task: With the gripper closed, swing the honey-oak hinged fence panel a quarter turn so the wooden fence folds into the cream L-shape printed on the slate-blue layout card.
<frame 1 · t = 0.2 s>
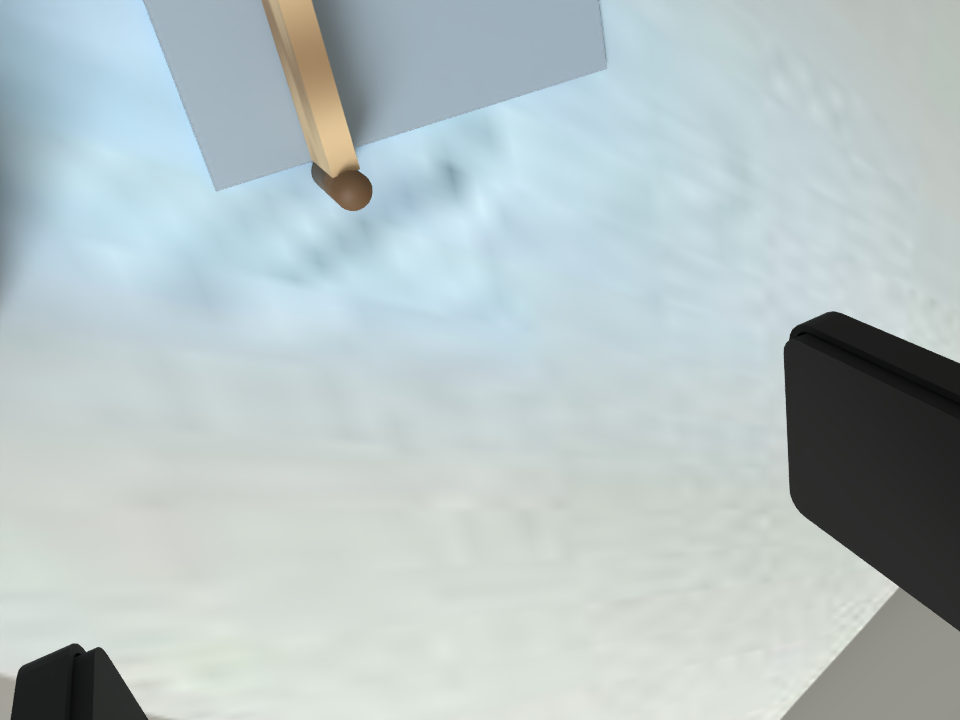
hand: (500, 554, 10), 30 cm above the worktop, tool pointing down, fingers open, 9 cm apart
fence panel: (309, 76, 33), point 3 cm above the worktop, hinge at 0.0°
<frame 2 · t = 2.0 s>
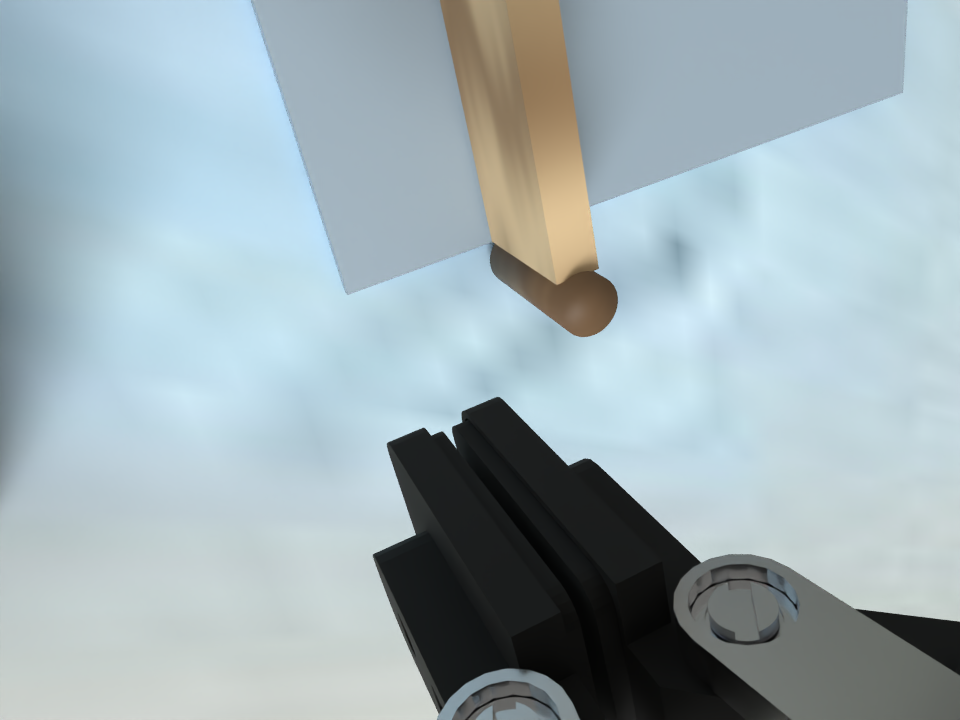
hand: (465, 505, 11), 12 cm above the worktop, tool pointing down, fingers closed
fence panel: (519, 116, 20), point 3 cm above the worktop, hinge at 0.0°
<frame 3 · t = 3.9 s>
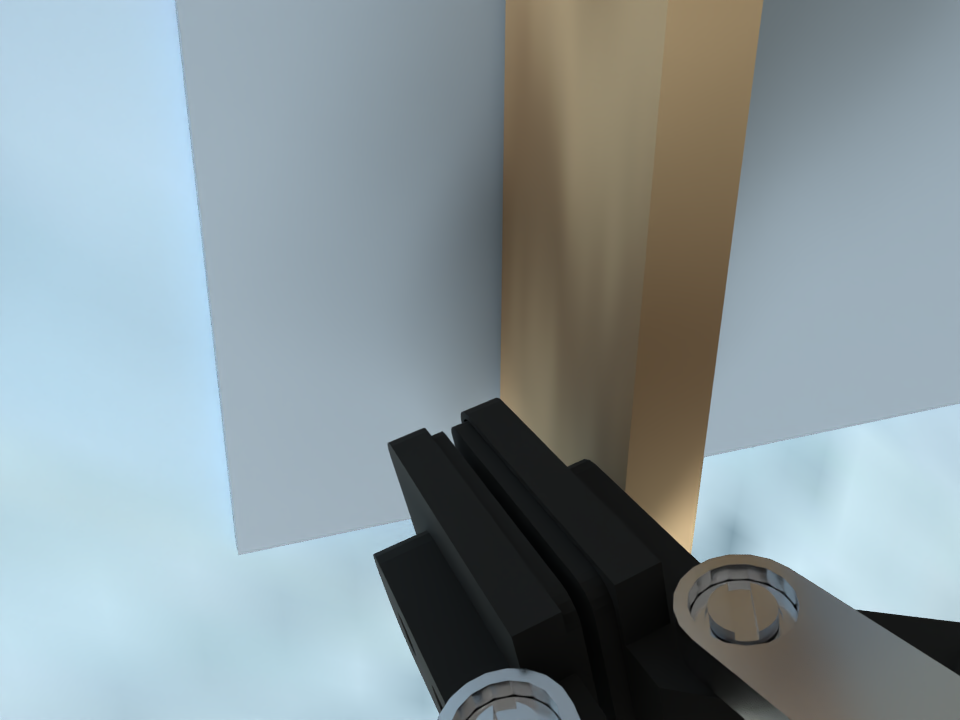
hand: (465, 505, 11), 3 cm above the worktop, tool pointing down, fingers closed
fence panel: (600, 355, 12), point 3 cm above the worktop, hinge at 1.4°, touching gripper
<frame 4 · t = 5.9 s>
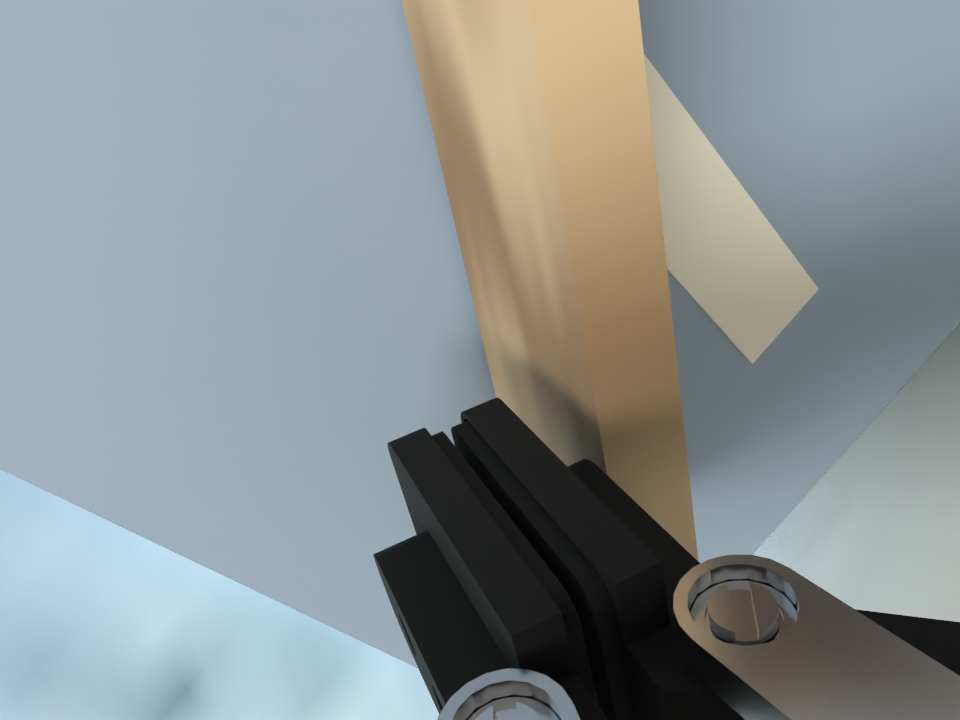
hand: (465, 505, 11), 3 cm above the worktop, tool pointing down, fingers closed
fence panel: (568, 338, 12), point 3 cm above the worktop, hinge at 57.9°, touching gripper
layout card: (613, 126, 14), on the worktop
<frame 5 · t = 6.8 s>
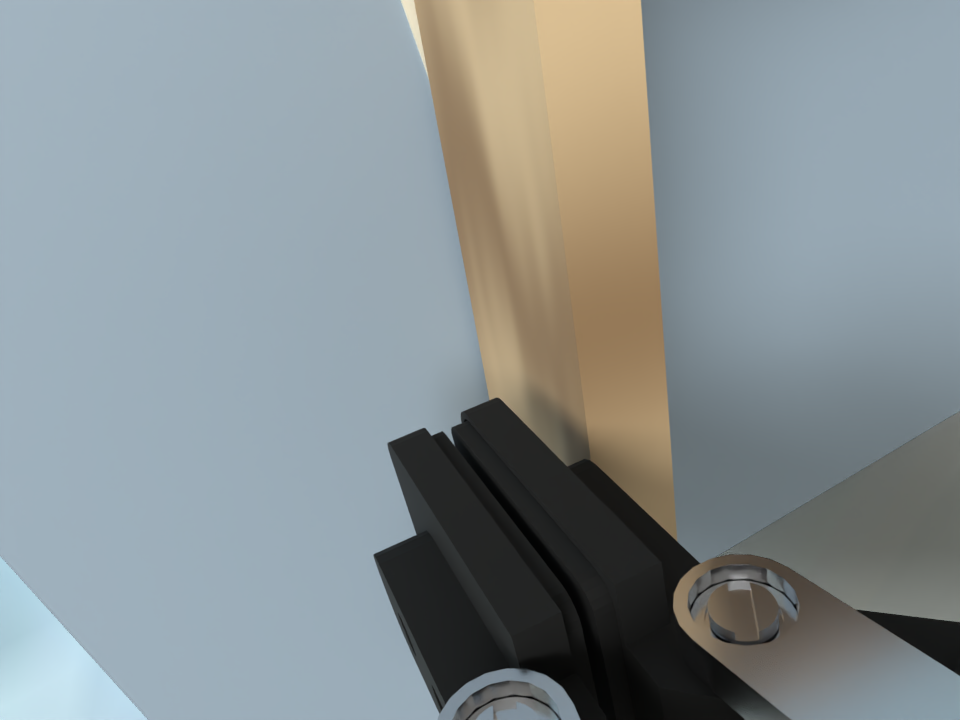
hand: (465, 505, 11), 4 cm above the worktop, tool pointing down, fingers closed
fence panel: (560, 325, 12), point 3 cm above the worktop, hinge at 80.4°, touching gripper
layout card: (524, 190, 14), on the worktop
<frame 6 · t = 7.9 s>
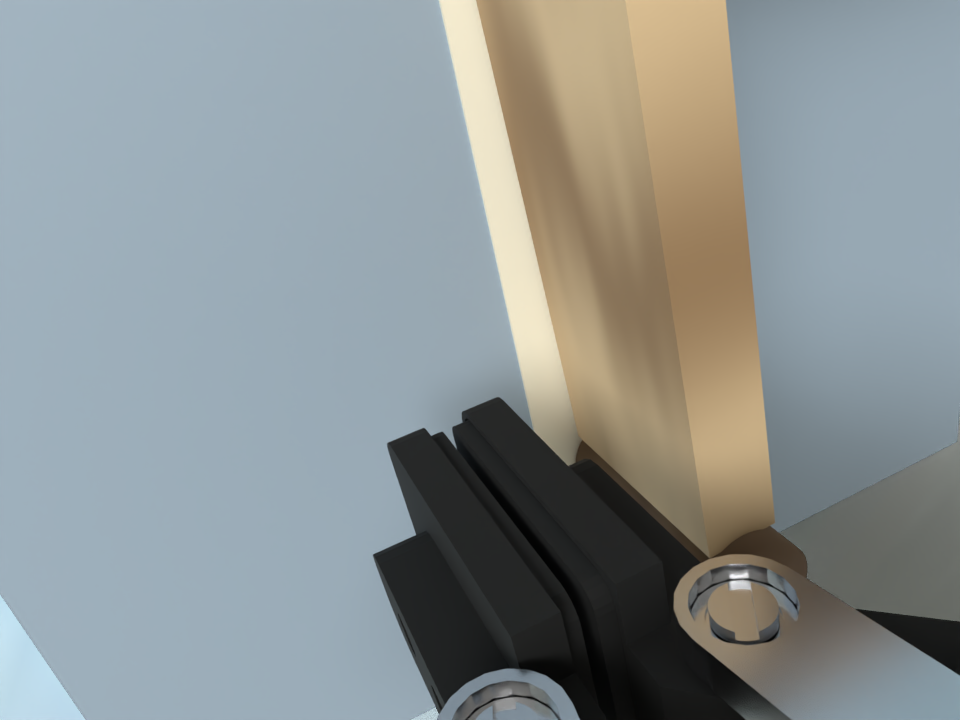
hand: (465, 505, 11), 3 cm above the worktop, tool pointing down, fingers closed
fence panel: (638, 282, 12), point 3 cm above the worktop, hinge at 92.2°
layout card: (529, 178, 14), on the worktop
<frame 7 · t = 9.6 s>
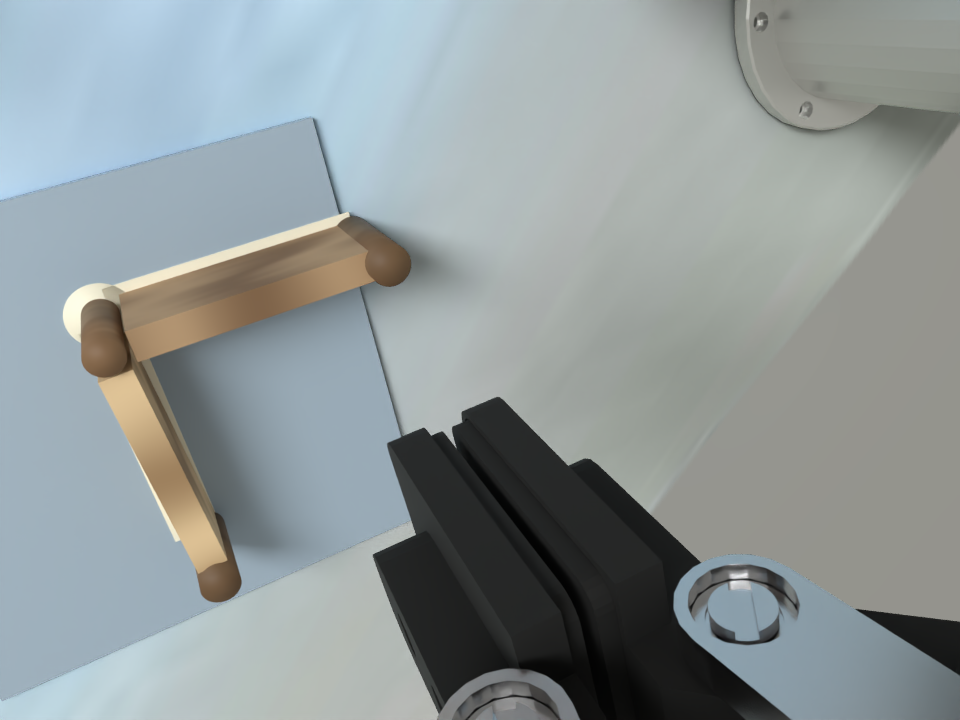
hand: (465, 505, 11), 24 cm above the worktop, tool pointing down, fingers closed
fence panel: (171, 471, 32), point 3 cm above the worktop, hinge at 92.3°
layout card: (148, 420, 34), on the worktop
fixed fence: (100, 315, 31), resting on layout card
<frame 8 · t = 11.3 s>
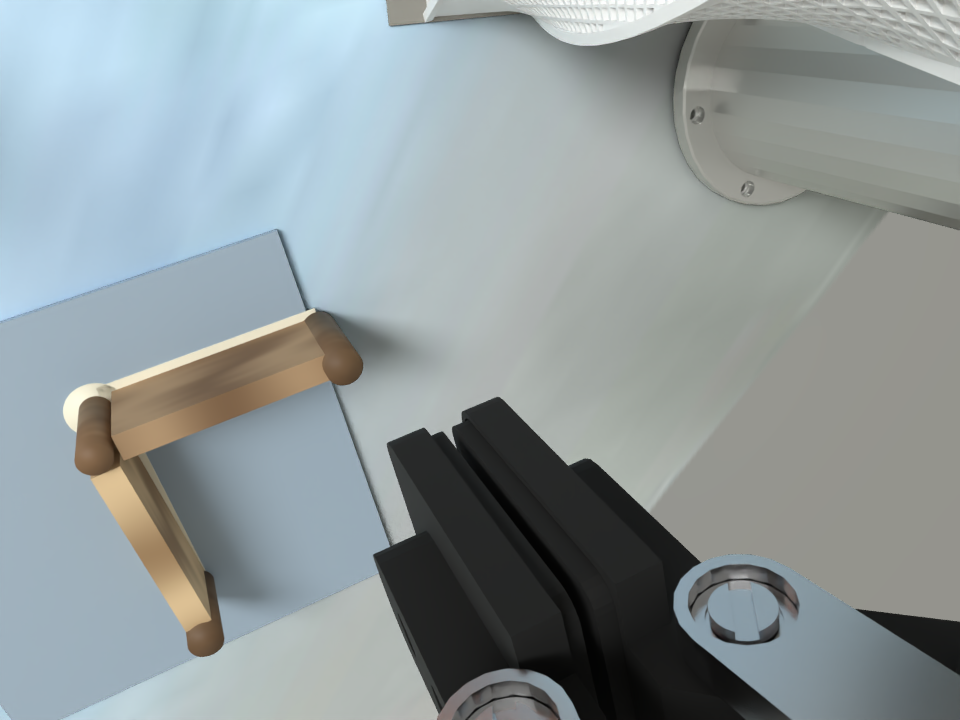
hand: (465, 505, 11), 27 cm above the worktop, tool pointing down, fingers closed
fence panel: (160, 543, 36), point 3 cm above the worktop, hinge at 92.3°
layout card: (142, 495, 38), on the worktop
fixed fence: (96, 410, 36), resting on layout card
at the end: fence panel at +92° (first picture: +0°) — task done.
